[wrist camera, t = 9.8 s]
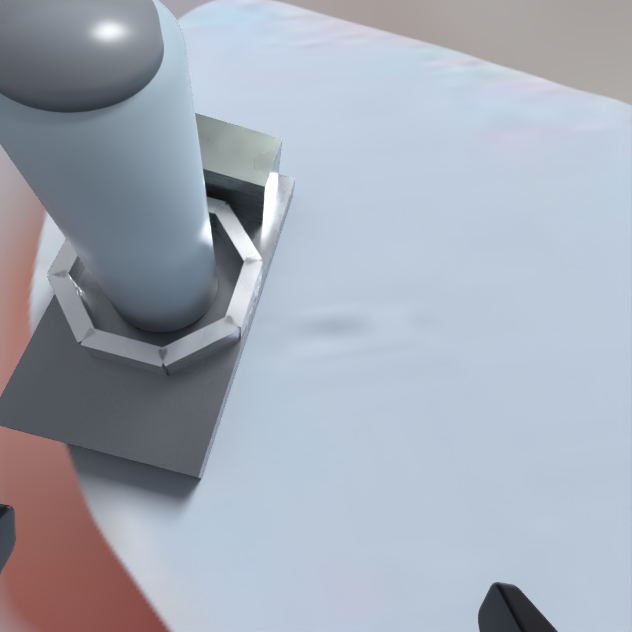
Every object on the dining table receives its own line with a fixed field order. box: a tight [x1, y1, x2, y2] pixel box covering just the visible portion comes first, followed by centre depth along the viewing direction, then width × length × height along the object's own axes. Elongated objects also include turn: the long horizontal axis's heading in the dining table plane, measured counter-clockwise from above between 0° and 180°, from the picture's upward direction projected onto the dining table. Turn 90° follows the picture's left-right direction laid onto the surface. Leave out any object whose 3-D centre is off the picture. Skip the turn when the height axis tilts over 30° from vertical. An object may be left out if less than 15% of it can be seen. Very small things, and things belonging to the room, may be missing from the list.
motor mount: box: [0, 113, 295, 479], centre depth 21 cm, size 16×9×4 cm, turn 166°
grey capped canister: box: [0, 0, 218, 332], centre depth 16 cm, size 5×5×13 cm
